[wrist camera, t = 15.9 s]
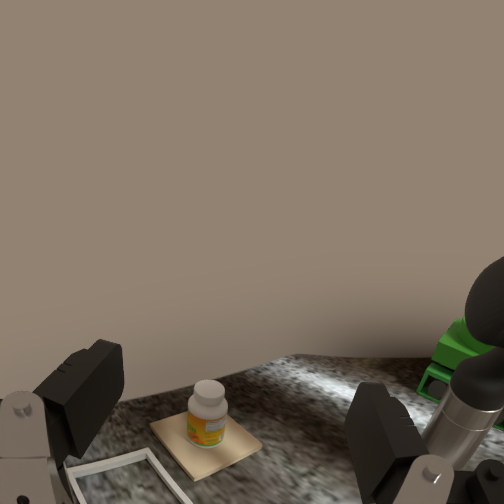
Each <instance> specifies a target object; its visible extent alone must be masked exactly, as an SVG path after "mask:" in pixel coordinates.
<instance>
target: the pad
mask: <svg viewBox="0 0 504 504" xmlns="http://www.w3.org/2000/svg"><path fill="white" fill-rule="evenodd" d="M187 417H188V411H186V412H184V413H181V414H178V415H175V416H171V417H168V418H165V419H162V420H159V421H156V422H152V423H150V428H151V430H152V431H153V432H154V434H155V435H156V436H157V438H158V439H159V440H160V441H161V443H162V444H163V445H164V447H165V448H166V449H167V450H168V452H169V453H170V454H171V455H172V457H173V458H174V459H175V460H176V461H177V463H178V464H179V465H180V466H181V467H182V469H183V470H184V471H185V472H186V473H187V474H188V476H189V477H190V478H191V479H192V480H193V481H194V482H195V481H197V480H200V479H202V478H204V477H206V476H208V475H211V474H213V473H215V472H217V471H219V470H221V469H223V468H225V467H227V466H229V465H231V464H233V463H235V462H237V461H239V460H241V459H243V458H245V457H247V456H249V455H250V454H252V453H254V452H256V451H258V450H260V449H261V448H262V444H261V443H260V442H259V441H258V440H256V439H255V438H254V437H253V436H252V435H250V434H249V433H248V432H247V431H246V430H245V429H243V428H242V427H241V426H240V425H239V424H238V423H236V422H235V421H234V420H233V419H232V418H231V417H230V416H229V415H227V418H226V425H225V432H224V438H223V441H222V442H221V443H220V444H219V445H218V446H216V447H213V448H200V447H197V446H195V445H194V444H192V443H191V442H190V441H189V439H188V437H187Z"/></svg>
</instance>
